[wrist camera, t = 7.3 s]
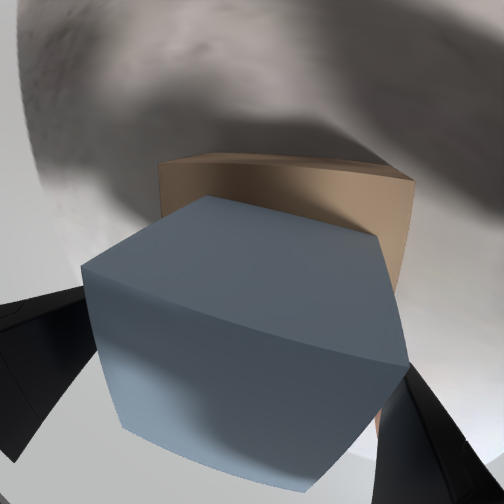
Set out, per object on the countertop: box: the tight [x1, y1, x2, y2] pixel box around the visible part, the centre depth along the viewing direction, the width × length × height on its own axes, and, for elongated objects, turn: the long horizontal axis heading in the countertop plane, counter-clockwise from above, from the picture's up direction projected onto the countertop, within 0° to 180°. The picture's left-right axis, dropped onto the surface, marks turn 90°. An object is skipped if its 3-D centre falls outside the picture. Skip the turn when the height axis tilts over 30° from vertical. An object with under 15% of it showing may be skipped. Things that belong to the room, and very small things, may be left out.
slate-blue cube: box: [81, 195, 410, 493], centre depth 8 cm, size 6×6×6 cm
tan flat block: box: [158, 153, 416, 293], centre depth 13 cm, size 9×9×5 cm
